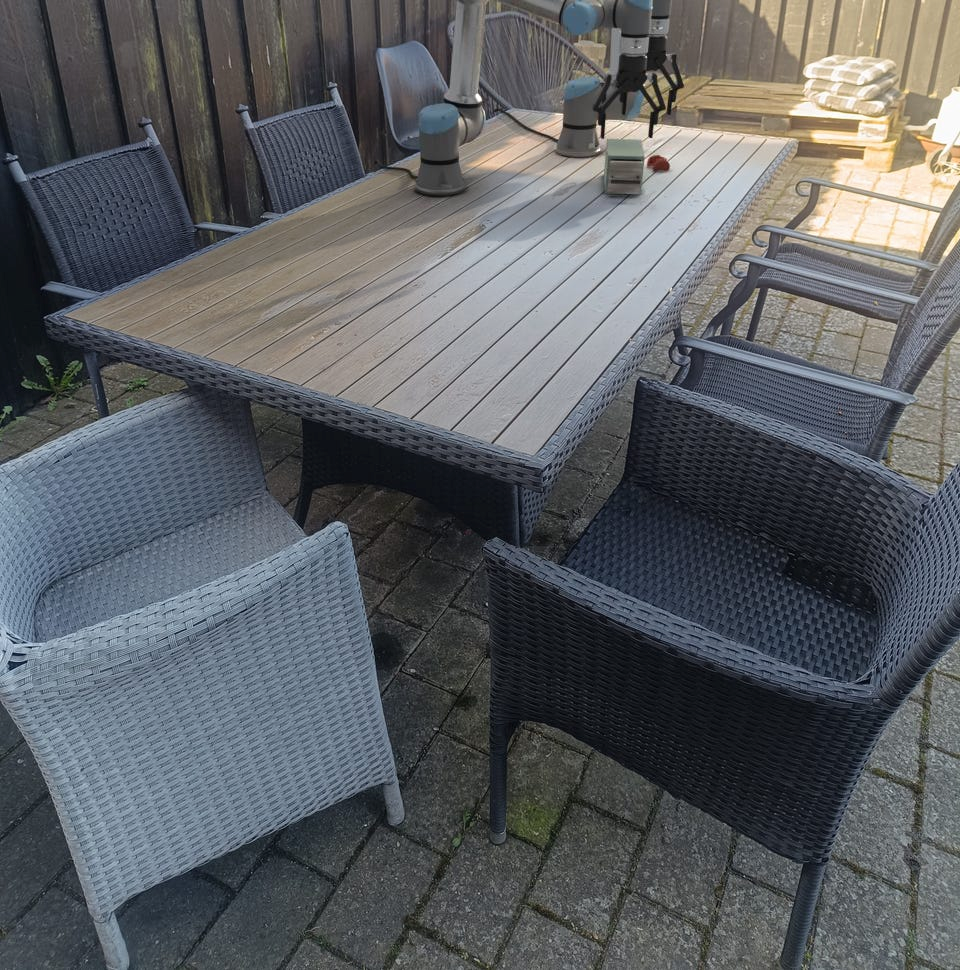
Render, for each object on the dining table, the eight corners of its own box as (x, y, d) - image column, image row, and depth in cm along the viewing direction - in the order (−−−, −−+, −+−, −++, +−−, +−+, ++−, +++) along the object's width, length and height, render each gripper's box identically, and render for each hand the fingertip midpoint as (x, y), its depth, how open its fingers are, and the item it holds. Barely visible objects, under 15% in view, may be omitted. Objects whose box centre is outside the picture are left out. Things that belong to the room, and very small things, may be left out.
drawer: (640, 199, 247) (643, 167, 242) (607, 198, 248) (610, 166, 243) (636, 176, 267) (639, 146, 261) (606, 175, 267) (608, 145, 262)
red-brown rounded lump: (661, 151, 278) (672, 157, 272) (660, 164, 281) (670, 171, 275) (646, 153, 277) (656, 159, 271) (645, 166, 280) (654, 173, 274)
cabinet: (640, 194, 254) (644, 156, 248) (604, 193, 255) (608, 155, 249) (637, 175, 271) (641, 139, 264) (603, 175, 271) (606, 138, 265)
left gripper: (588, 57, 223) (583, 141, 235) (682, 55, 223) (672, 140, 235) (585, 52, 229) (580, 134, 241) (677, 51, 229) (667, 133, 241)
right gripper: (613, 36, 237) (606, 117, 250) (701, 36, 238) (690, 116, 250) (609, 32, 243) (602, 111, 256) (695, 32, 244) (684, 110, 256)
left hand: (626, 137), depth 238 cm, fingers open, 13 cm apart
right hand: (645, 114), depth 253 cm, fingers open, 13 cm apart
